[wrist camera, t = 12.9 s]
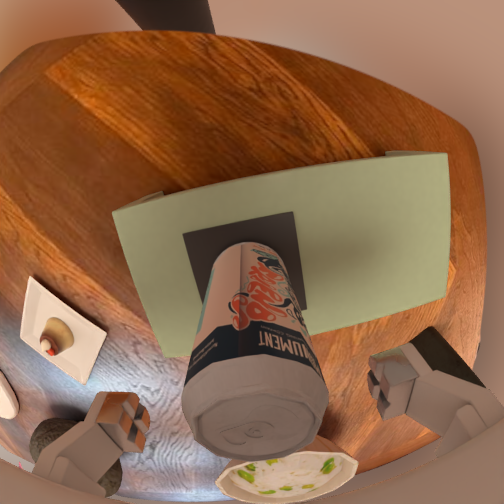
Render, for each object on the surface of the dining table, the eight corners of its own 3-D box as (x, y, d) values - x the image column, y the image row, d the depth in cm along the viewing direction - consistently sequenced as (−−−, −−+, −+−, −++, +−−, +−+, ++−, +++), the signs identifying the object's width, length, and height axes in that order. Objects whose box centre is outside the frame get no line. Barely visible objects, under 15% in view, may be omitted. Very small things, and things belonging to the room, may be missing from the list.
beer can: (298, 286, 19) (354, 436, 8) (237, 318, 20) (233, 476, 8) (262, 225, 18) (295, 352, 6) (197, 263, 18) (143, 411, 7)
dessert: (88, 380, 32) (75, 403, 28) (23, 333, 30) (6, 351, 25) (110, 328, 29) (94, 352, 25) (34, 271, 27) (11, 288, 22)
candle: (440, 344, 32) (534, 471, 8) (412, 366, 33) (494, 504, 9) (432, 323, 31) (542, 462, 7) (402, 347, 32) (496, 502, 8)
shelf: (148, 194, 25) (110, 212, 17) (397, 150, 24) (449, 153, 16) (182, 309, 29) (164, 360, 21) (404, 263, 28) (446, 298, 20)
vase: (145, 458, 39) (118, 590, 11) (80, 452, 40) (44, 557, 12) (93, 401, 34) (30, 560, 5) (31, 398, 35) (-31, 512, 7)
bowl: (220, 392, 33) (215, 457, 23) (362, 393, 34) (385, 448, 24) (216, 461, 39) (213, 508, 29) (323, 460, 40) (333, 504, 31)
